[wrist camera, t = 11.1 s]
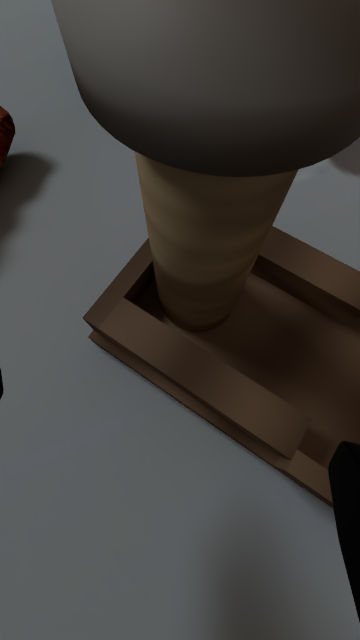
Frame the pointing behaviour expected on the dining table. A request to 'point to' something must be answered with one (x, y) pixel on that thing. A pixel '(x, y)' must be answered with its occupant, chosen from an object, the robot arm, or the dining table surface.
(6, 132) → the croissant
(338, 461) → the robot arm
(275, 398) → the tray
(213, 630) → the dining table surface
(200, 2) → the peg
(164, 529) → the dining table surface
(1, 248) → the dining table surface
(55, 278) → the dining table surface
